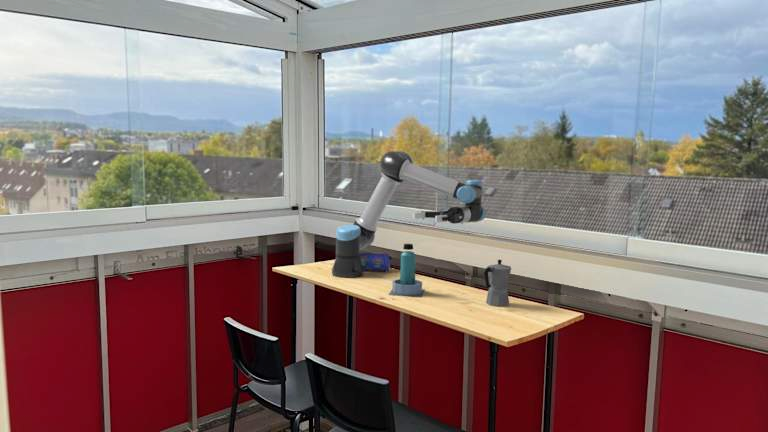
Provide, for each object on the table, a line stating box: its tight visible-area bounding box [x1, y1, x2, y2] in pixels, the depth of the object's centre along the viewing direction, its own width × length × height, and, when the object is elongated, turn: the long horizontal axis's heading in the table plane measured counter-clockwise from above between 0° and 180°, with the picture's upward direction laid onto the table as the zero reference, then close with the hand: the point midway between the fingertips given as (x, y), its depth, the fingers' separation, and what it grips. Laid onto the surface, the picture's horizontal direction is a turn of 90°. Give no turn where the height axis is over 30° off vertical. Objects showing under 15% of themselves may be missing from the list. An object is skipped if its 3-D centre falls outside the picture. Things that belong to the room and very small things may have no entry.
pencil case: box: [360, 252, 392, 273], centre depth 287 cm, size 22×9×10 cm, turn 86°
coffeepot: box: [483, 259, 512, 308], centre depth 229 cm, size 15×9×18 cm, turn 129°
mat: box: [388, 288, 426, 298], centre depth 244 cm, size 14×14×1 cm
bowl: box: [391, 278, 423, 297], centre depth 244 cm, size 12×12×4 cm
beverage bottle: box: [399, 243, 416, 285], centre depth 243 cm, size 6×7×20 cm
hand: (424, 217), depth 246 cm, fingers open, 13 cm apart
